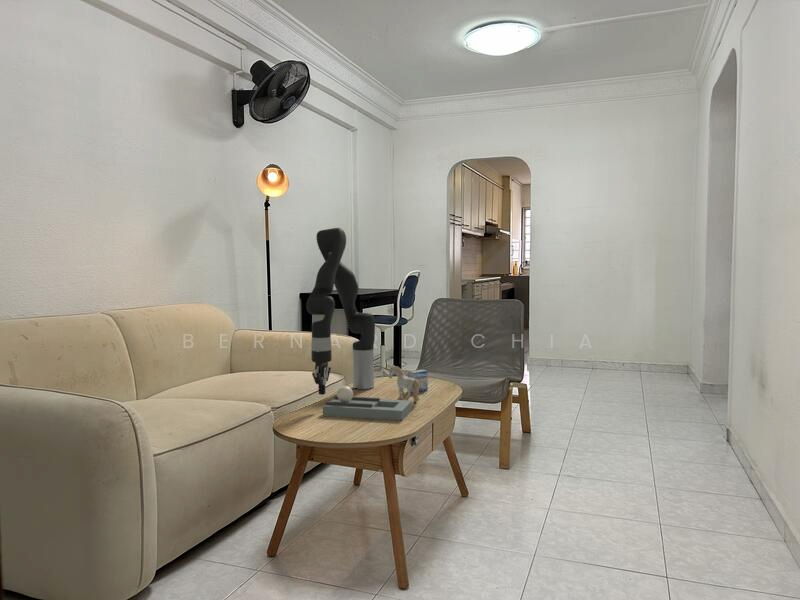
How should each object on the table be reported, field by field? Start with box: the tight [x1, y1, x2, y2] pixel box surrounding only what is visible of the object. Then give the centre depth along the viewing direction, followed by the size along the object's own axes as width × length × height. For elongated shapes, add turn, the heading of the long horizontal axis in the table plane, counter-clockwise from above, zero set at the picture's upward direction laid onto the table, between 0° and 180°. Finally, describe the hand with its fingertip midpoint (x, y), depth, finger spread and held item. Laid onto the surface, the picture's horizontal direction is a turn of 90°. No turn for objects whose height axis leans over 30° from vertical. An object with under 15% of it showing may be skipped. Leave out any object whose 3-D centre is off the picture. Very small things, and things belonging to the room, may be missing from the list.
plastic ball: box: [336, 385, 354, 402], centre depth 219 cm, size 6×6×6 cm
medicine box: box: [407, 369, 429, 393], centre depth 252 cm, size 8×4×9 cm, turn 129°
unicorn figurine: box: [379, 365, 420, 403], centre depth 235 cm, size 7×20×13 cm, turn 52°
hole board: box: [322, 395, 413, 421], centre depth 217 cm, size 15×30×4 cm, turn 75°
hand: (322, 394), depth 221 cm, fingers closed
